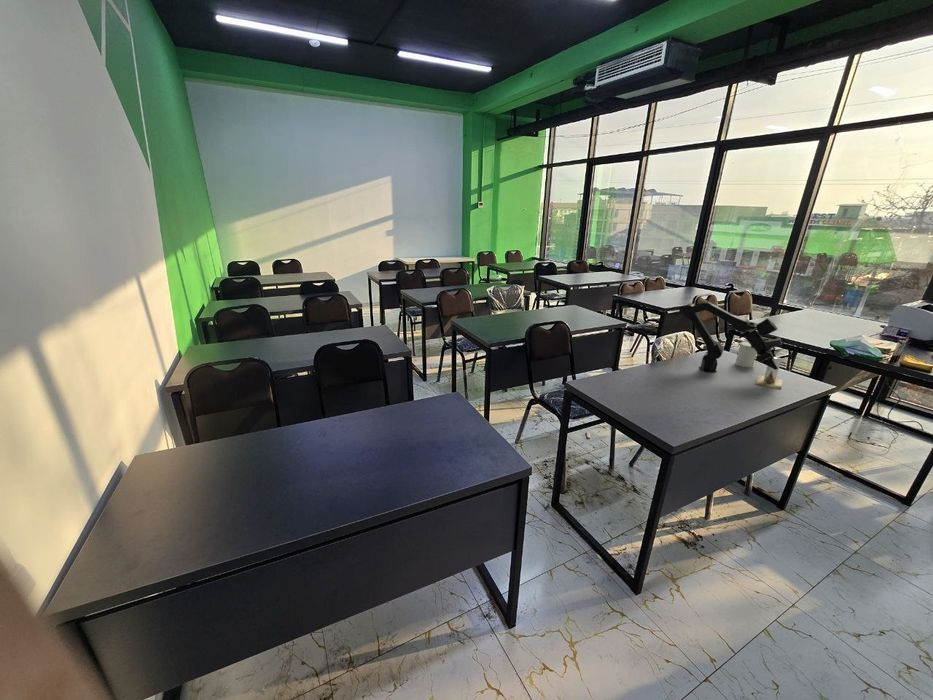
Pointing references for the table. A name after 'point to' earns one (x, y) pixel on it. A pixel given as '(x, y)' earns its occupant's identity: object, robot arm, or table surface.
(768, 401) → the table surface
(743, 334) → the robot arm
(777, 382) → the peg rack
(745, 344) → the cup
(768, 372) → the silver metal cylinder
